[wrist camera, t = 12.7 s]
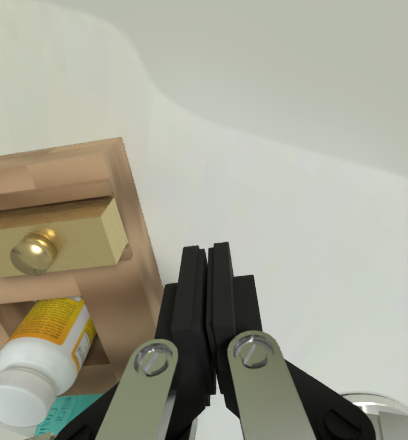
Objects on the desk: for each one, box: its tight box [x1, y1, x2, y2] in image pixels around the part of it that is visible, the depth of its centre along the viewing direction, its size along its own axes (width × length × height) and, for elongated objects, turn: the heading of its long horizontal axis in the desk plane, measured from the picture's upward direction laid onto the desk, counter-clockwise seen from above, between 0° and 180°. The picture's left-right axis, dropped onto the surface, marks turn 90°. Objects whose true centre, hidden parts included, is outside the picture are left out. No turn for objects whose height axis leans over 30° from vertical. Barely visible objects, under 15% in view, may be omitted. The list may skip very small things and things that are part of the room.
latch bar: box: [0, 197, 128, 277], centre depth 19 cm, size 3×8×4 cm, turn 99°
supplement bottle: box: [0, 296, 97, 427], centre depth 24 cm, size 5×5×10 cm
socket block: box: [0, 137, 164, 397], centre depth 24 cm, size 20×16×7 cm
